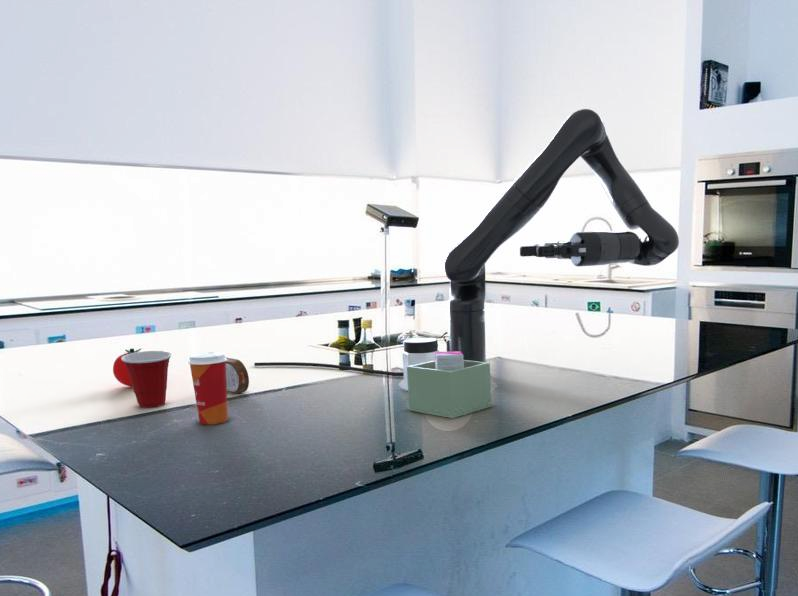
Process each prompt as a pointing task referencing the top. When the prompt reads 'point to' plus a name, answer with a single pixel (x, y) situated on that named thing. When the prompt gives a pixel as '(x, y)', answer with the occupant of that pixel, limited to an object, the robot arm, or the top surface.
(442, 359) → the supplement box
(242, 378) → the tin
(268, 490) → the top surface
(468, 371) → the mint green storage bin
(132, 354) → the plastic cup
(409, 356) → the jar
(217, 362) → the paper cup
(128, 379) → the tomato
